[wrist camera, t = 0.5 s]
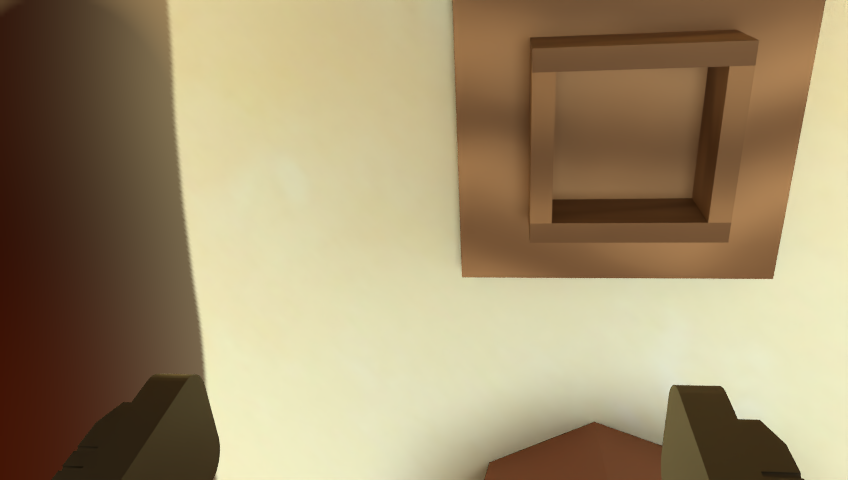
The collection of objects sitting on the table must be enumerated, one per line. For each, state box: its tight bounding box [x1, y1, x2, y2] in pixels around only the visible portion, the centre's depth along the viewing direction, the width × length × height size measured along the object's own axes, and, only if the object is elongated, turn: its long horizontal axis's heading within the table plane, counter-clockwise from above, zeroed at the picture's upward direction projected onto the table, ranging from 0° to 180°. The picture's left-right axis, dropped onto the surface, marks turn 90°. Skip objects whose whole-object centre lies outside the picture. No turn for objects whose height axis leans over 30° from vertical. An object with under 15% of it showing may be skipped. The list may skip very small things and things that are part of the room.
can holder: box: [453, 0, 826, 279], centre depth 31 cm, size 16×16×4 cm
